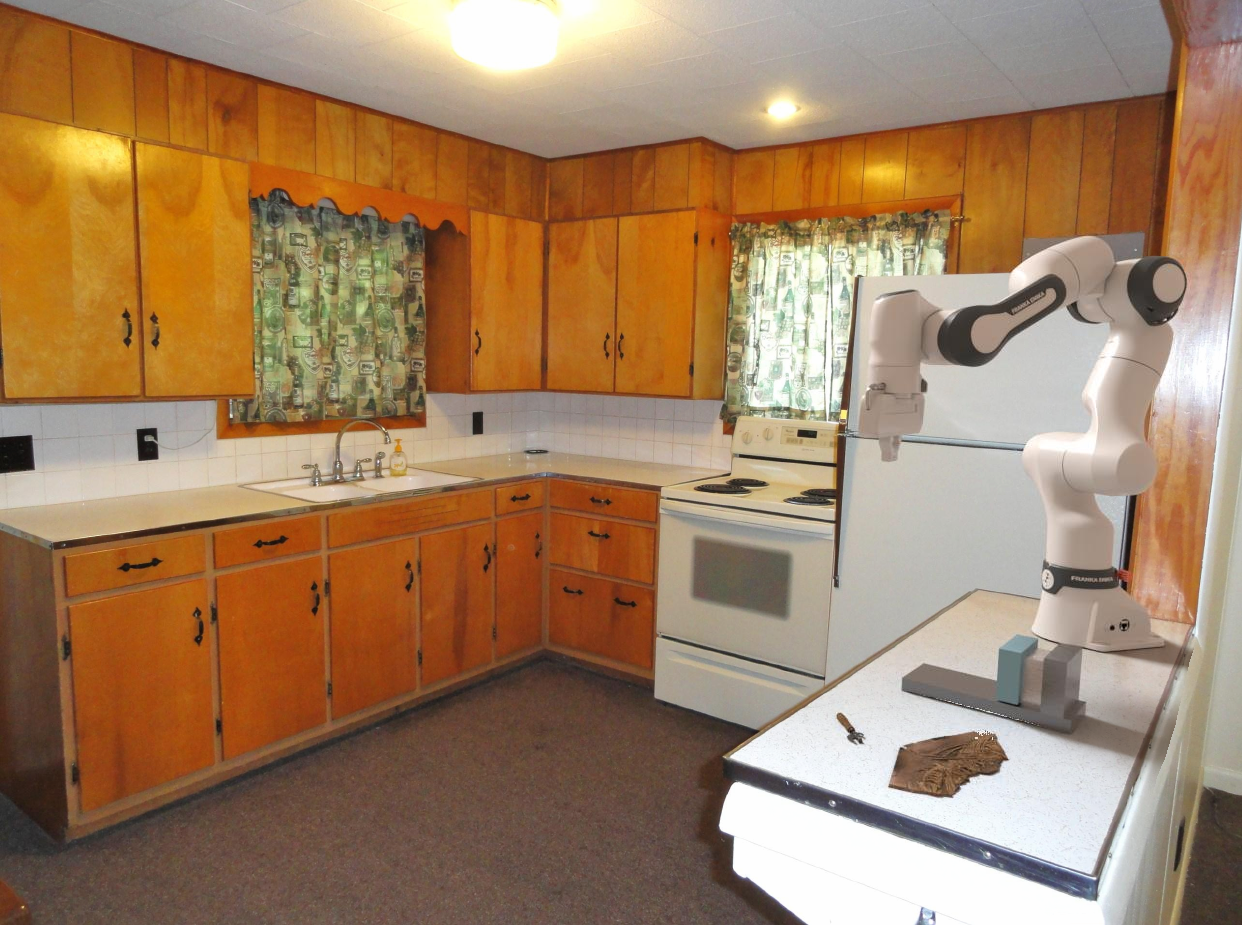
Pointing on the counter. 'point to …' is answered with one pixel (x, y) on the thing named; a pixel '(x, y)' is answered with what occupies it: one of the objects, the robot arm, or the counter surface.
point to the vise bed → (978, 692)
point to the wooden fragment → (945, 763)
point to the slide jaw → (1012, 667)
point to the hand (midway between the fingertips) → (889, 461)
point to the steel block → (1033, 677)
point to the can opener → (849, 729)
